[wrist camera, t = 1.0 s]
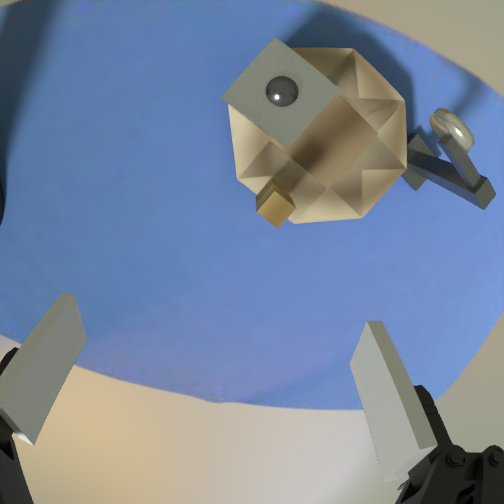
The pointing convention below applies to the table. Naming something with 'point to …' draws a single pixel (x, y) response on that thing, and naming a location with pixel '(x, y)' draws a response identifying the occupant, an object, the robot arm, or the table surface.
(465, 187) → the dial post
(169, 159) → the table surface
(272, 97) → the cover
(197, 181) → the table surface
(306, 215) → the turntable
